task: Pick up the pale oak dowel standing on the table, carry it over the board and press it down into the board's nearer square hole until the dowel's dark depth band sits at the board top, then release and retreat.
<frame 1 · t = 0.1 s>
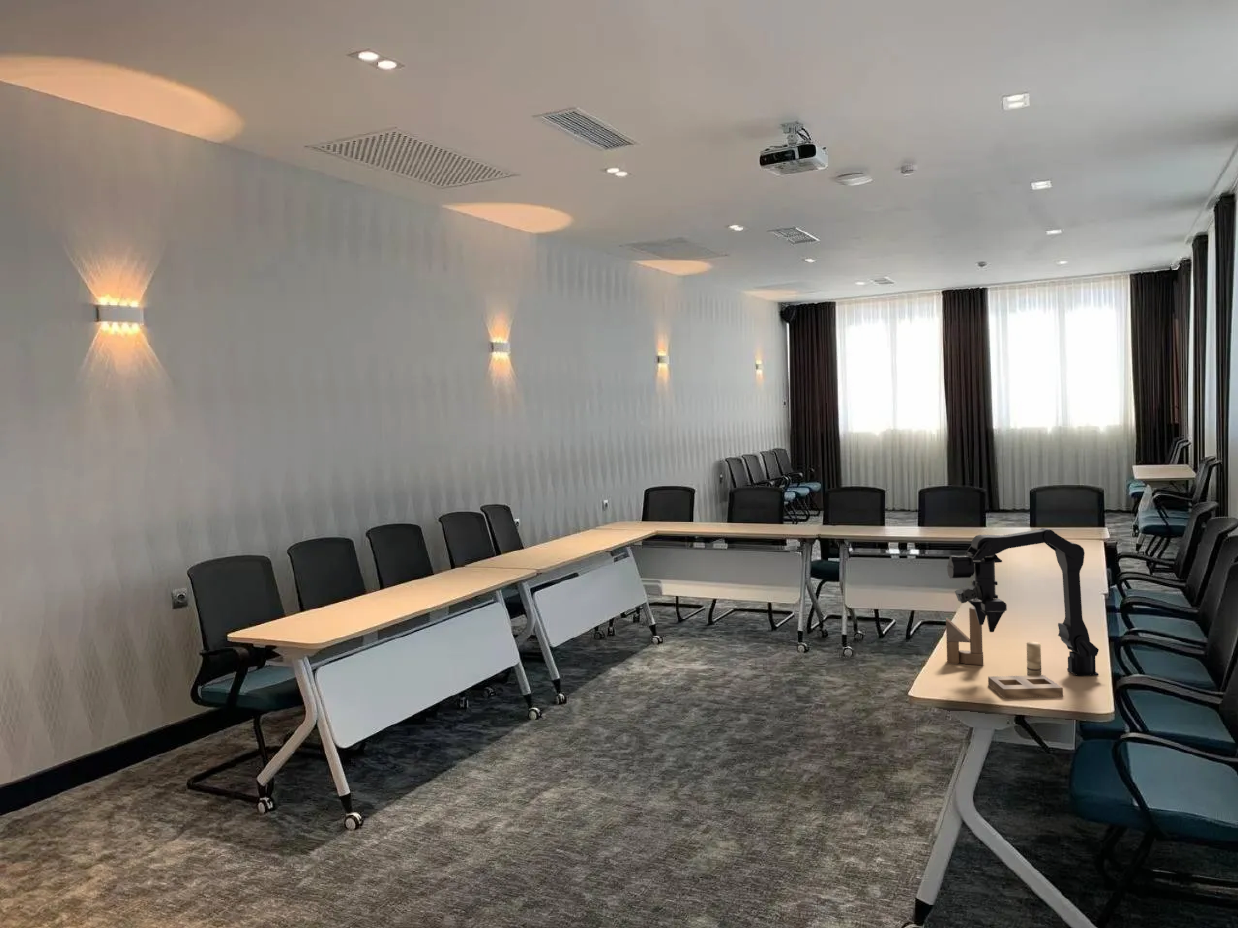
hand: (986, 628, 262), 15 cm above the table, fingers open, 9 cm apart
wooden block: (965, 663, 277), on the table
dowel: (1034, 676, 260), on the table
board: (1024, 690, 248), on the table
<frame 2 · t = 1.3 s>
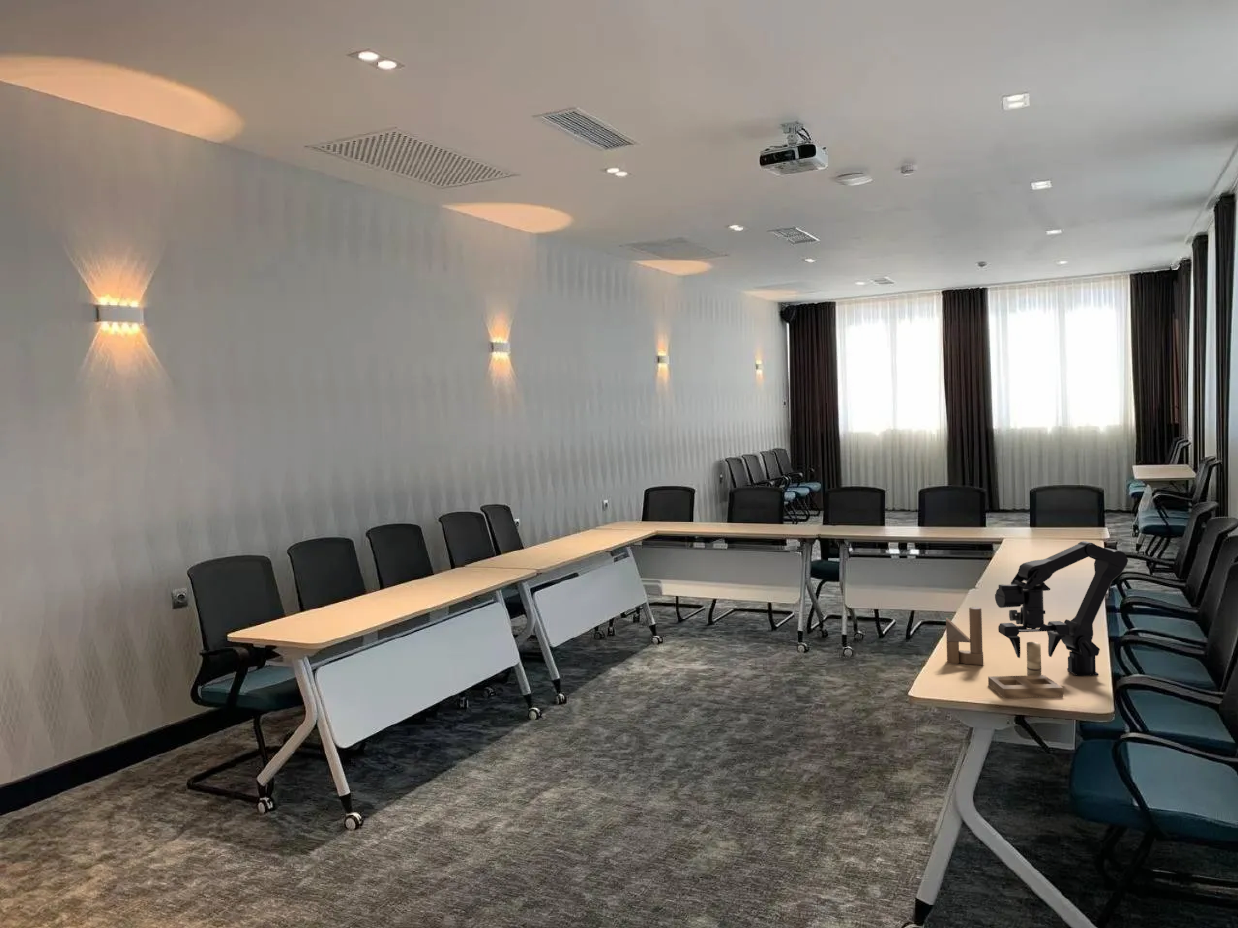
hand: (1034, 656, 260), 6 cm above the table, fingers open, 9 cm apart
nothing on the table moved.
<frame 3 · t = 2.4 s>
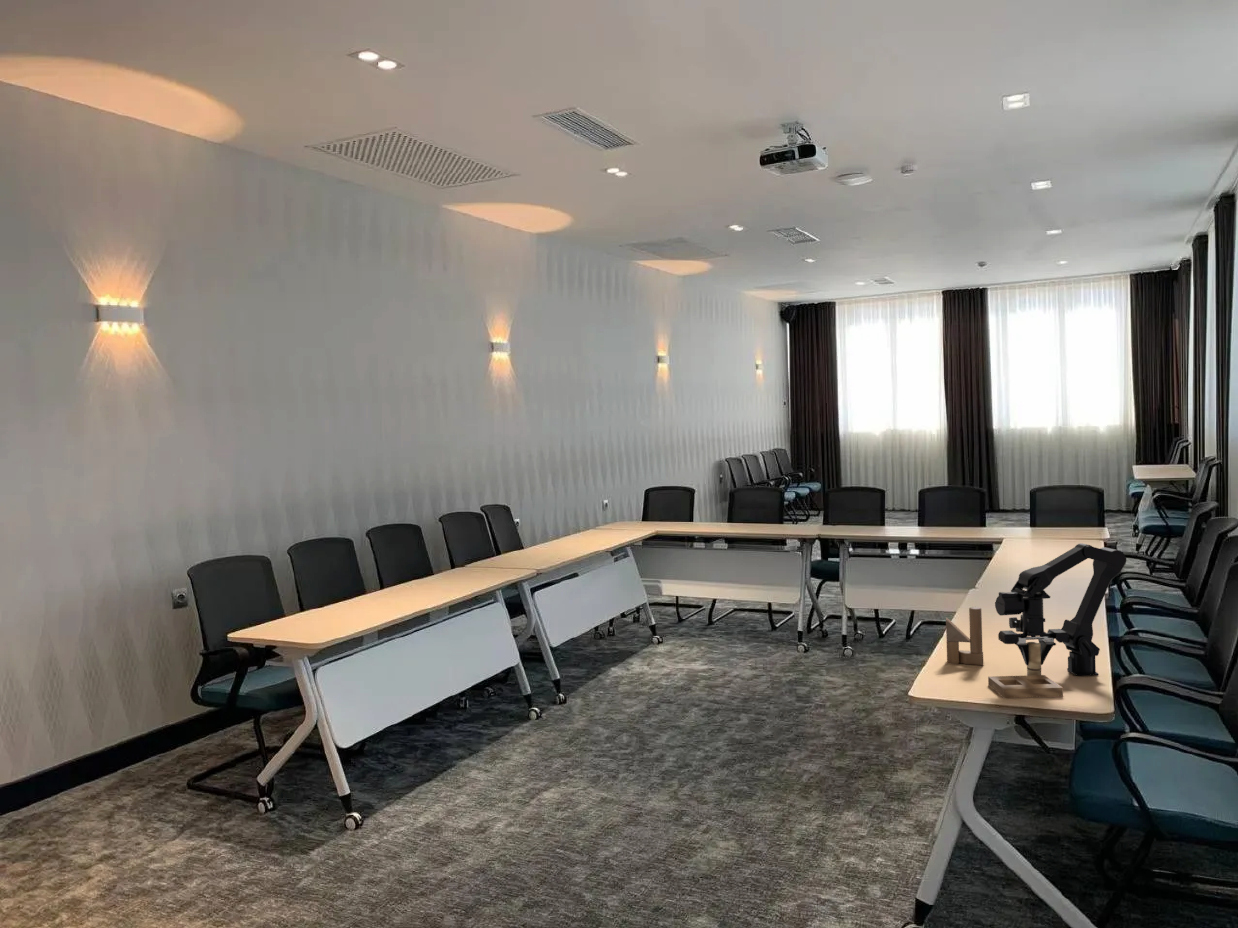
hand: (1034, 664, 260), 4 cm above the table, fingers closed on dowel, 4 cm apart
dowel: (1034, 676, 260), on the table, touching gripper
everything else where it was.
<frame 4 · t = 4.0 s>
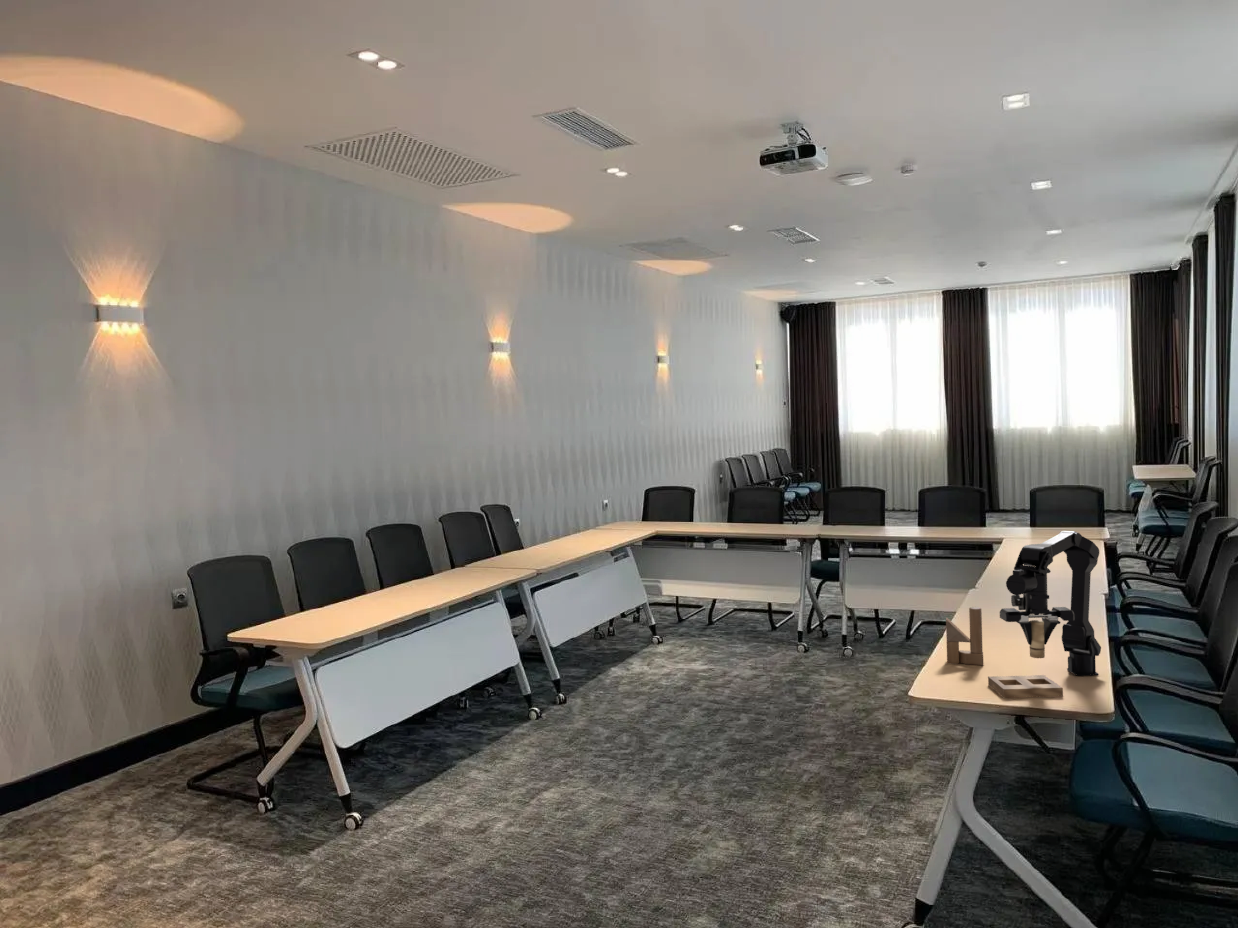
hand: (1037, 644, 247), 13 cm above the table, fingers closed on dowel, 4 cm apart
dowel: (1037, 656, 248), point 10 cm above the table, touching gripper
everything else where it was.
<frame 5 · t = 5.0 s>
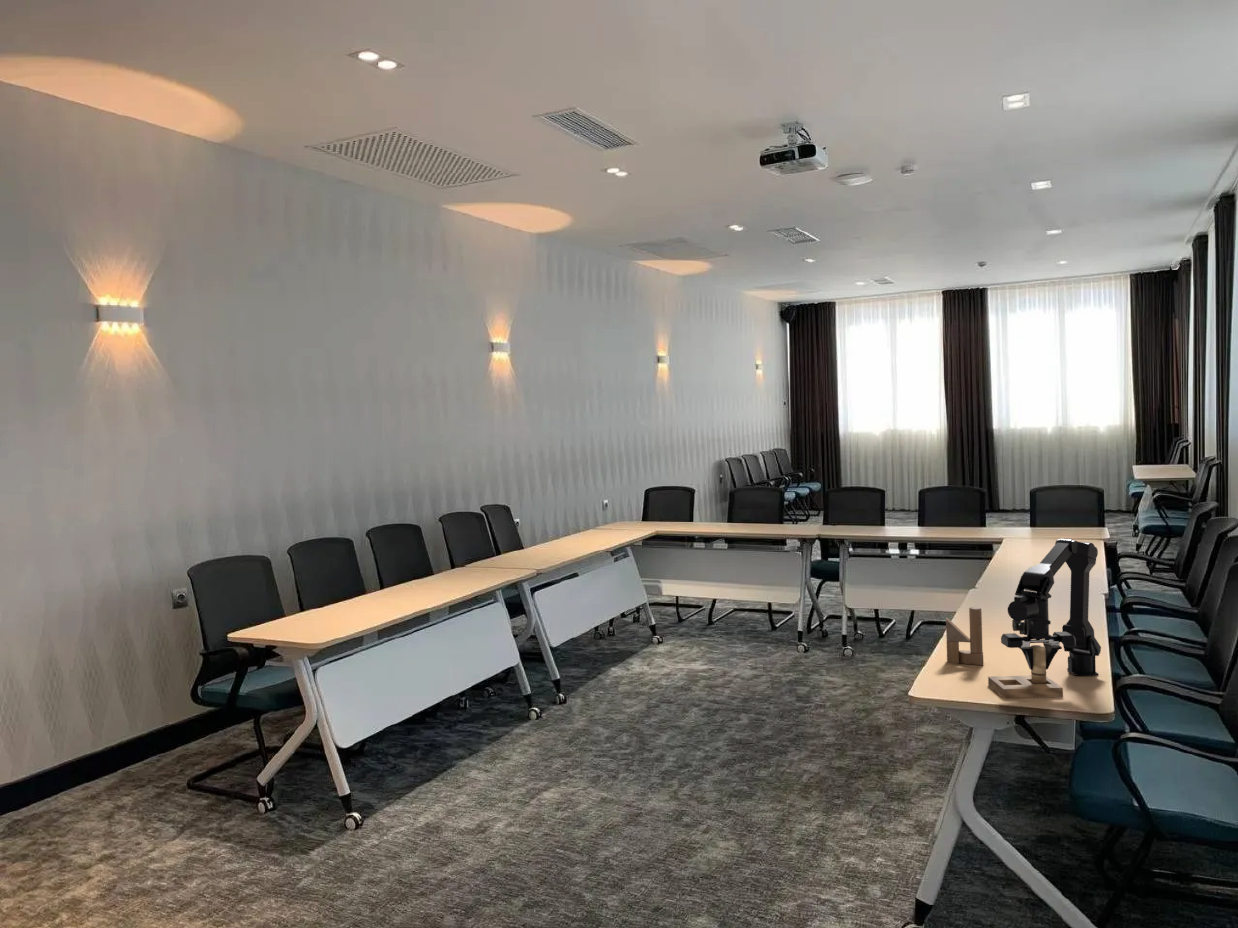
hand: (1038, 669, 247), 6 cm above the table, fingers closed on dowel, 4 cm apart
dowel: (1038, 681, 248), point 3 cm above the table, touching gripper
everything else where it was.
when the fingers open (4 cm above the table, at t = 5.7 s): dowel stays where it is, resting in board.
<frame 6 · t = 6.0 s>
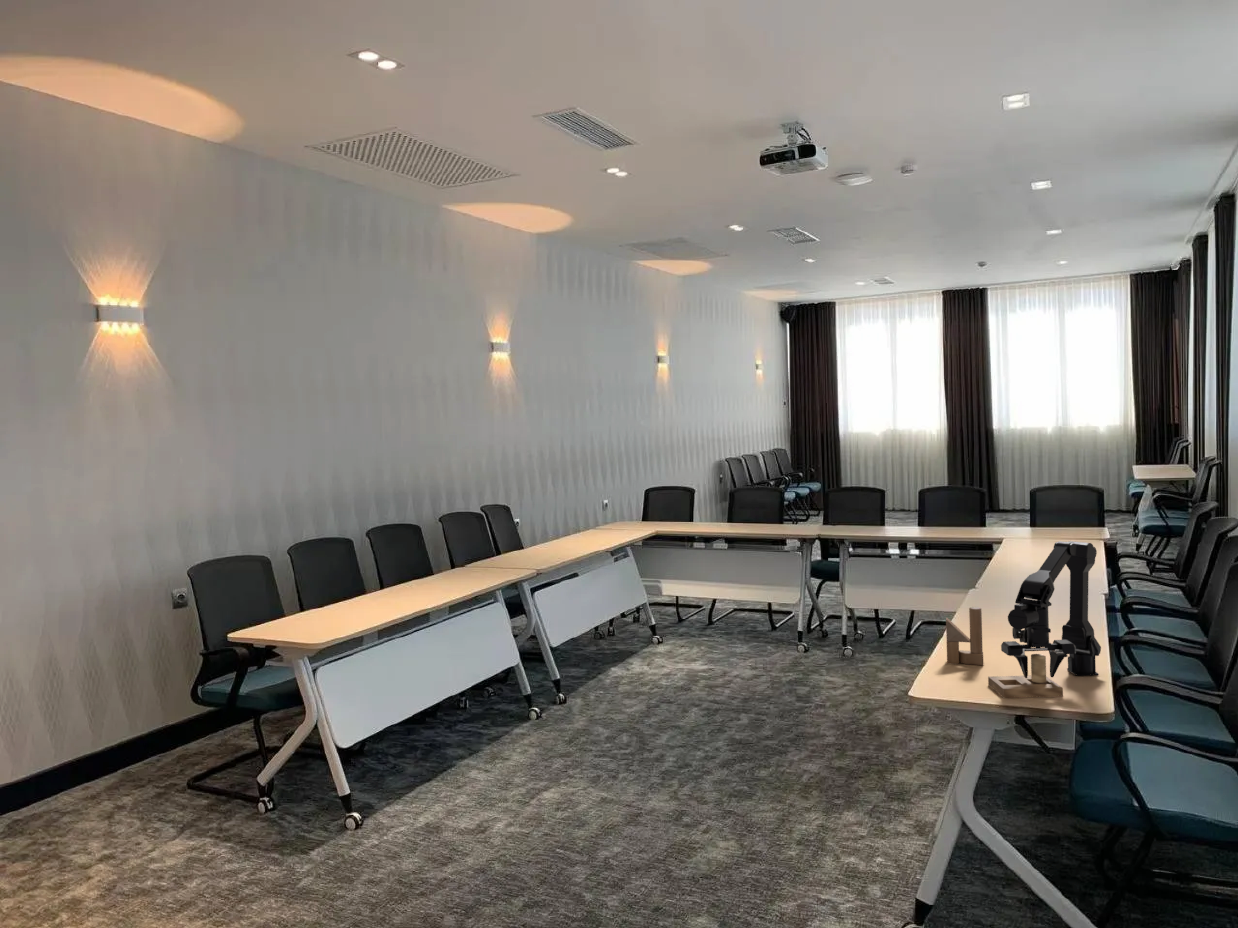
hand: (1038, 677, 248), 4 cm above the table, fingers open, 7 cm apart
dowel: (1039, 690, 248), resting in board
everything else where it was.
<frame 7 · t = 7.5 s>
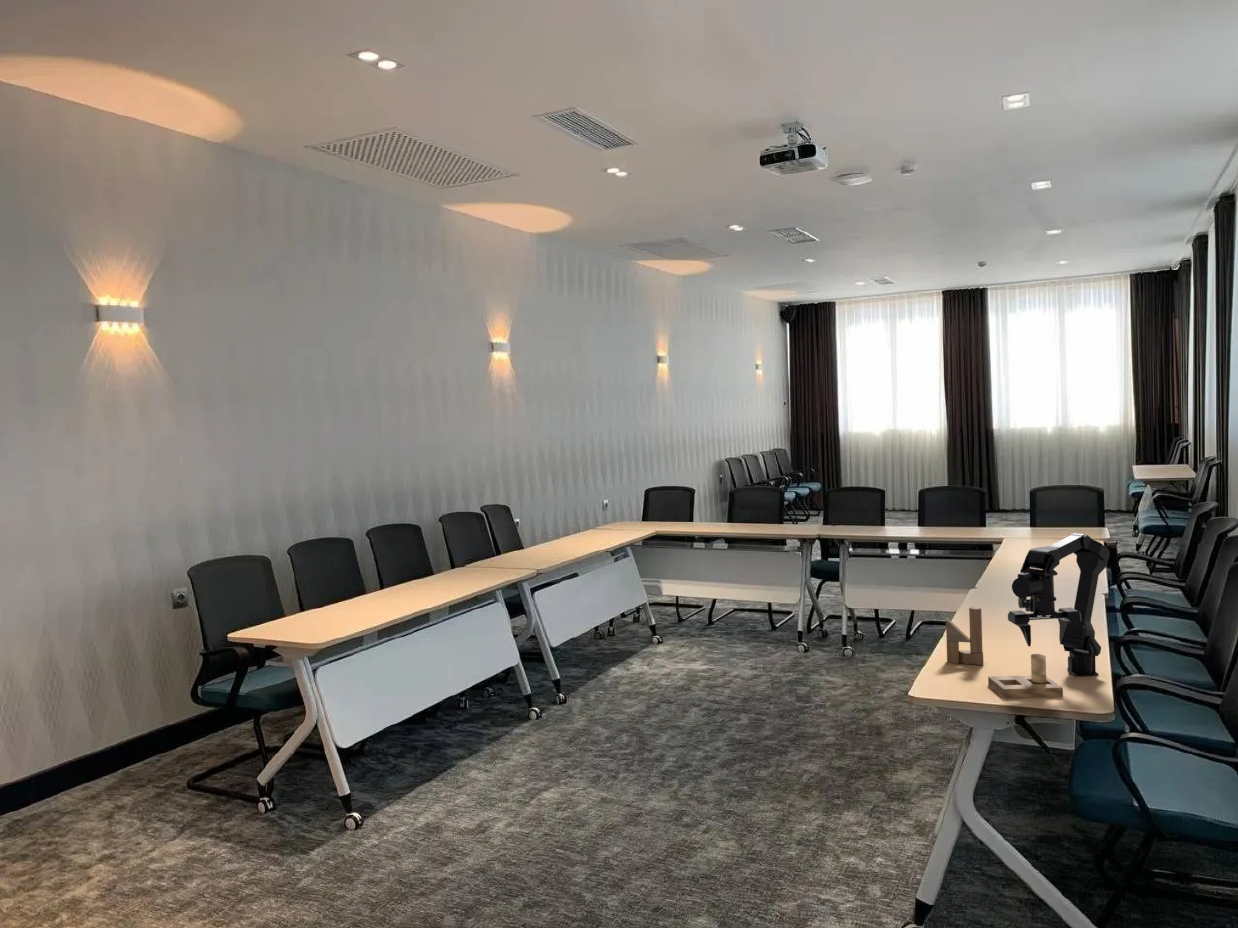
hand: (1045, 645, 252), 12 cm above the table, fingers open, 9 cm apart
nothing on the table moved.
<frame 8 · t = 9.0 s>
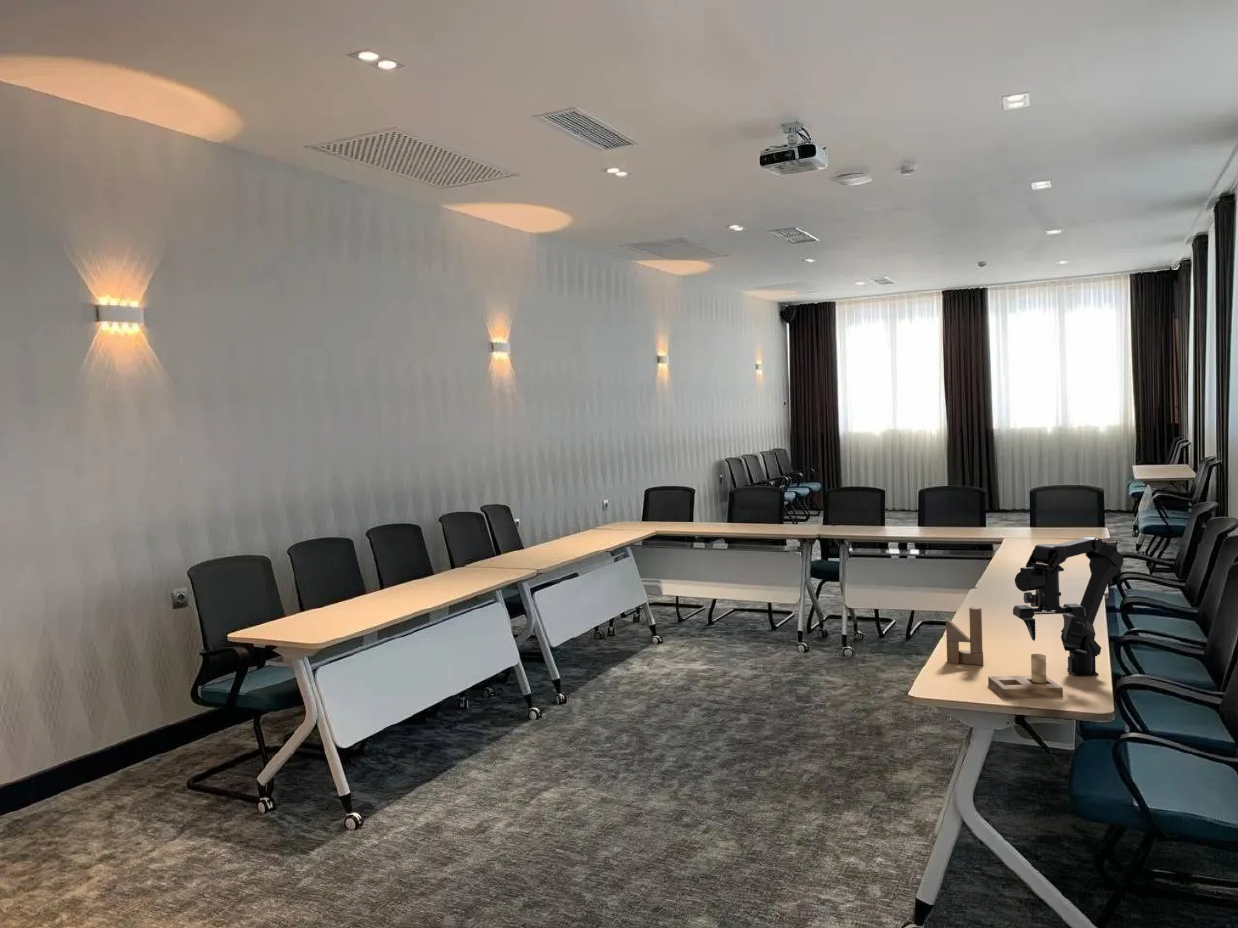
hand: (1049, 639, 256), 12 cm above the table, fingers open, 9 cm apart
nothing on the table moved.
at the end: dowel 0.1 cm from the target spot, resting in board; dowel tilted 0°; the gripper is holding nothing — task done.
